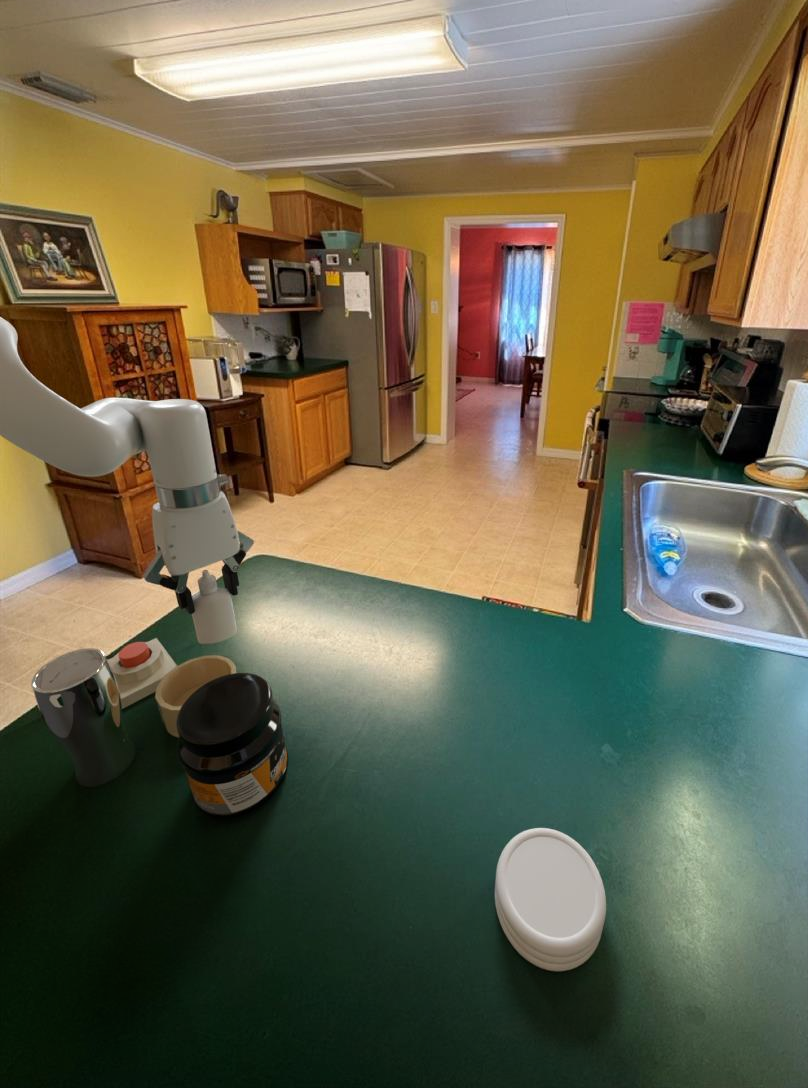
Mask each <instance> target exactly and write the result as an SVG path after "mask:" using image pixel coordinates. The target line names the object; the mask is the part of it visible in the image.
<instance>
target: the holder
mask: <svg viewBox="0 0 808 1088" xmlns="http://www.w3.org/2000/svg"><path fill="white" fill-rule="evenodd" d="M234 673H238V671H237V666H236V664H235V663H234V661H232V660H231V659H230V658H228V657H226V656H222V655H219V654H218V655H217V654H215V655H213V654H212V655H211V654H210V655H207V654H206V655H202V656H198V657H194V658H190V659H188V660H186V661H184V662H183V663H180V664H177V667H175V668H174V669H173V670H171V671H170V672H169V673H168V674H166V675H165V676H164V677H163V679H162V680H161V682H160V683H159V685H158V686H157V688H156V692H155V695H154V698H155V702H156V705H157V709H158V712H159V714H160V715H159V716H160V717H161V721H162V724H163V726H164V728H165V730H166V731H167V732H168V733H169V734H170V735H171V736H172V737H176V738H179V734H178V730H177V725H176V721H177V716H178V713H179V711H180V708H181V707H182V705H183V704H184V702H185V701H186V700H187V699H188V697H189V696H190V695H191V694H192V693H194V692H195V691H196V690H197V689H198V688H200V687H201V686H203V685H204V684H206V683H208V682H210V681H212V680H214V679H216V678H219V677H221V676H225V675H229V674H234Z"/></svg>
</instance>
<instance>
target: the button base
mask: <svg viewBox="0 0 808 1088" xmlns="http://www.w3.org/2000/svg"><path fill="white" fill-rule="evenodd" d="M144 642H145V643H146V644H147V645H148V649H149V652H150V657H149V659H148V660H147V661H145V662H144V663H142V664H140V665H138V666H136V667H130V668H125V667H123V666H122V665H121V662H120V659H119V652H117V653H116V654H115V655H114V656H113V657H110V658H109V659H107V661H108V663H109V665H110V667H111V669H112V671H113V673H114V675H115V678H116V680H117V683H118V687H119V690H120V696H121V703H122V710H123V709H125V708H127V707H129V706H130V705H133V704H134V703H136V702H138V701H140V700H142V699H144V698H146V697H148V696H150V695H152V694H155V693H156V688H157V686H158V685H159V683H160V682H161V680H162V679H163V677H164V676H165V675H166V674H168V673H169V672H170V671H171V670H173V669H174V668H175V667H177V666H178V664H177V663H176V662H175V661H174V659H173V658H172V657H171V655H170V653H168V651H167V650H166V648H165V647H164V646H163V644H162V643H161V642H160V641H159V639H158V637H155V638H153V639H151V640H149V641H144Z"/></svg>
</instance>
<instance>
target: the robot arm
mask: <svg viewBox="0 0 808 1088" xmlns="http://www.w3.org/2000/svg"><path fill="white" fill-rule="evenodd" d="M18 337H19V335H18V332H17V330H16V328H15V327H14V326H13V324H11V323H10V322H9V321H7V320H6V319H4V318H3V317H1V316H0V436H1V437H2V438H3V439H5V440H6V441H8V442H9V443H11V444H13V445H14V446H16V447H18V448H19V449H21V450H23V451H25V452H26V453H29V454H30V455H32V456H34V457H35V458H37V459H39V460H40V461H43V462H44V463H47V464H48V465H51V466H53V467H54V468H56V469H59V470H61V471H63V472H66V473H69V474H72V475H74V476H75V475H76V476H80V477H86V478H87V477H89V478H95V477H102V476H105V475H106V476H107V475H109V474H112V473H114V472H115V471H116V470H117V469H119V468H120V467H121V466H123V465H124V464H125V463H126V462H127V461H128V460H130V458H131V457H133V456H136V455H137V454H139V453H141V452H146V454H147V458H148V463H149V467H150V471H151V474H152V480H153V483H154V489H155V493H156V496H157V502H156V503H154V504H153V505H152V507H151V518H152V519H151V520H152V532H153V533H152V534H153V540H154V547H155V553H156V554H155V555H154V557H153V558H152V560H151V561H150V563H149V565H148V566H147V567H146V569H145V571H144V572H143V573H142V578H143V579H144V581H145V582H147V583H150V584H153V585H156V586H161V587H163V588H165V589H169V590H172V591H174V593H175V597H176V602H177V605H178V607H179V608H180V610H185V612H187V613H188V615H191V616H192V614H193V613H194V612H195V608H194V603H193V599H192V596H193V595H192V591H191V589H190V588H189V587H188V586H187V584H188V579H189V575H190V573H191V572H194V571H196V570H199V569H202V568H205V567H209V566H211V565H213V564H216V563H219V562H222V563H223V565H222V566H221V574H222V579H223V585H224V586H223V587H224V588H226V589H228V590H229V591H230V594H231V596H233V597H235V596H238V595H239V592H238V587H239V586H240V582H239V576H238V575H239V574H238V571H239V570H240V566H241V564H242V562H243V560H244V559H245V558H246V556H247V553H248V552H249V551H250V550H251V548H252V547H253V545H254V543H255V540H254V539H253V538H251V537H250V536H249V535H246V534H244V533H242V532H241V531H239V530H238V527H237V524H236V520H235V518H234V514H233V512H232V509H231V506H230V503H229V500H228V498H227V496H226V494H225V493H224V491H222V486H223V485H225V484H228V483H229V478H228V475H227V474H226V473H224V474H218V473H217V469H216V468H217V467H216V462H215V457H214V451H213V446H212V439H211V434H210V428H209V427H210V426H209V423H208V417H207V412H206V409H205V407H204V406H203V405H202V403H200V402H199V401H197V400H194V399H193V400H192V399H187V398H171V399H161V400H146V399H145V400H144V399H136V398H129V397H105V398H102V399H99V400H96V401H94V402H92V403H89V404H87V405H86V406H84V407H81V408H80V407H78V406H77V405H75V404H73V403H72V402H70V401H69V400H67V399H66V398H64V397H62V396H61V395H59V394H58V393H56V392H54V391H53V390H52V389H50V388H49V387H48V386H46V385H45V384H43V383H42V382H41V381H40V380H38V379H37V378H36V376H34V375H33V374H32V373H31V372H30V371H29V370H28V368H27V367H26V366H25V364H24V363H23V361H22V360H21V357H20V354H19V352H18V340H19V338H18ZM164 567H165V569H167V572H168V574H169V575H166V574H161V571H163V568H164Z"/></svg>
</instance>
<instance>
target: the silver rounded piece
mask: <svg viewBox="0 0 808 1088" xmlns="http://www.w3.org/2000/svg"><path fill="white" fill-rule="evenodd" d="M106 656H107V655H106V654H105V652H104V651H103V650H101V649H98V648H94V647H93V648H92V647H91V648H89V647H87V648H86V647H85V648H80V649H75V650H72V651H68V652H66V653H63V654H61V655H59V656H57V657H55V658H53V659H51V660H49V661H48V662H47V663H45V664H44V665H43V666H42V667H40V668H39V669H38V670H37V671H36V673H34V675H33V676H32V678H31V681H30V686H31V688H32V690H33V691H32V692H33V694H34V697H35V698H34V699H35V701H36V704H37V708H38V710H39V713H40V715H41V718H42V719H43V722H44V724H45V725H46V727H47V728H48V730H49V731H50V733H51V734H52V735H53V737H55V739H56V740H57V741H58V742H59V743H60V745H62V747H63V748H64V749H65V750H66V751H67V752H68V754H69V755H70V758H71V759H72V762H73V765H74V771H75V772H74V774H75V780H76V782H77V783H78V784H79V785H80V786H81V787H86V788H96V787H99V786H103V785H106V784H108V783H110V782H112V781H113V780H115V779H117V778H118V777H120V776H121V775H122V774H123V773H124V772H125V771H126V770H128V768H130V766H131V765H132V764H133V762H134V760H135V758H136V754H137V747H136V745H135V744H134V742H133V741H132V740H131V738H130V737H129V736H128V734H127V733H126V730H125V726H124V718H123V709H122V703H121V696H120V690H119V687H118V683H117V680H116V678H115V675H114V673H113V671H112V669H111V667H110V665H109V663H108V661H107V660H108V659H107V657H106Z"/></svg>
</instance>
